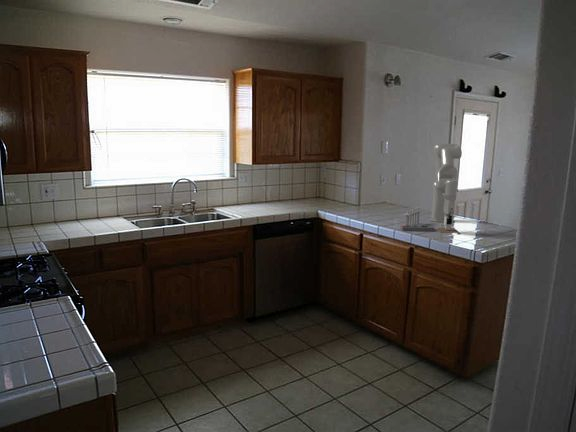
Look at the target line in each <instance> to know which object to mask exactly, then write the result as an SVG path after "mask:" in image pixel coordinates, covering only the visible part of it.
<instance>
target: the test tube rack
mask: <svg viewBox="0 0 576 432" xmlns="http://www.w3.org/2000/svg"><path fill="white" fill-rule="evenodd" d="M422 211H423V209H420V207H419V206H417V207H414V208H412V209H410V210H406V213H403V214H402V215H404V216H405V225H422V222H420V212H422Z"/></svg>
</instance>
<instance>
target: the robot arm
mask: <svg viewBox="0 0 576 432" xmlns="http://www.w3.org/2000/svg"><path fill="white" fill-rule="evenodd" d="M433 154H434V157H435V171H434V173H435V174H434V175H435V180H434V181H433V182H432V185H431V187H432V202H431V203H432V205H431V217H429V219H428V220H429V222H435V223H444V219H445V216H448V219H447V224H452V225H453V223H452V217H453V216H454V214H455V207H456V206H455V204H456V202H455V201H456V200H457V194H458V193H457V189H458V169H457V168H456V167H455V165H454V164H455V163H454V162H455V161H454V160H457V159H461V158H462V156H463V152H462V148H461V147H460V145H459V144H458V143H436V144H435V145H434V146H433ZM449 215H450V216H449Z"/></svg>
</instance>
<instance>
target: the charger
mask: <svg viewBox="0 0 576 432" xmlns="http://www.w3.org/2000/svg"><path fill="white" fill-rule="evenodd" d="M449 216H450V215H449ZM447 219H448V216H445V215H444V222H443V225H444V228H445V229H451V228H452V227H453V221H454V220H453V219H454V217H453V216H452V224H447Z"/></svg>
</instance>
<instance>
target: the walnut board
mask: <svg viewBox="0 0 576 432" xmlns="http://www.w3.org/2000/svg"><path fill="white" fill-rule="evenodd" d="M435 230H437V231H438V232H439V233H440V234H441V233H444V234H446V233H447V234H457V235H461V232H460V231H458V230H457V229H456V228H454V227H453V228H452V227H451V229H445V227H442V228H441V227H435Z"/></svg>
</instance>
